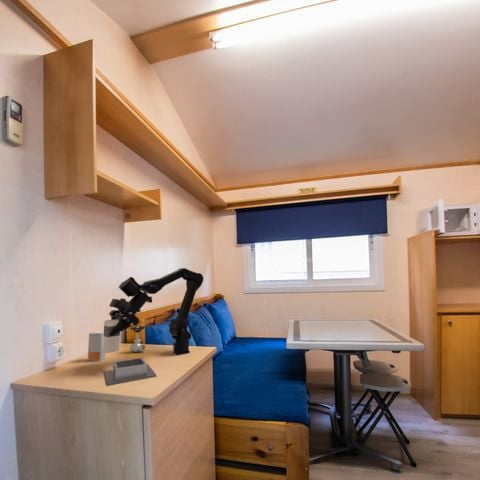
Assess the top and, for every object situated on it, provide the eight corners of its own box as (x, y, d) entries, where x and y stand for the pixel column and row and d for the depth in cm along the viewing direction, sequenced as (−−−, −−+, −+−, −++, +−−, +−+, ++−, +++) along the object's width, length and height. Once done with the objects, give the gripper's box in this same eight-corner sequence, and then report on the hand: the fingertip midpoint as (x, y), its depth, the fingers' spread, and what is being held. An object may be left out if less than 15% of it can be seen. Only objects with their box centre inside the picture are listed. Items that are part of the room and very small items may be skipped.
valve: (139, 353, 135) (140, 328, 137) (127, 353, 137) (127, 328, 138) (146, 350, 142) (147, 325, 144) (134, 350, 143) (135, 325, 145)
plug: (115, 349, 117) (115, 319, 118) (119, 350, 113) (120, 320, 115) (103, 351, 113) (104, 320, 115) (107, 353, 110) (108, 321, 112)
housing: (147, 365, 116) (147, 355, 116) (156, 376, 102) (156, 364, 102) (104, 372, 108) (104, 361, 109) (107, 385, 94) (107, 372, 95)
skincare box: (87, 361, 125) (88, 333, 127) (92, 358, 130) (93, 331, 131) (100, 361, 125) (101, 332, 127) (105, 358, 129) (106, 331, 131)
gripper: (114, 291, 126) (86, 319, 117) (132, 291, 113) (102, 323, 104) (131, 307, 130) (105, 336, 121) (150, 309, 117) (123, 342, 108)
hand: (108, 334), depth 113 cm, fingers closed on plug, 5 cm apart
